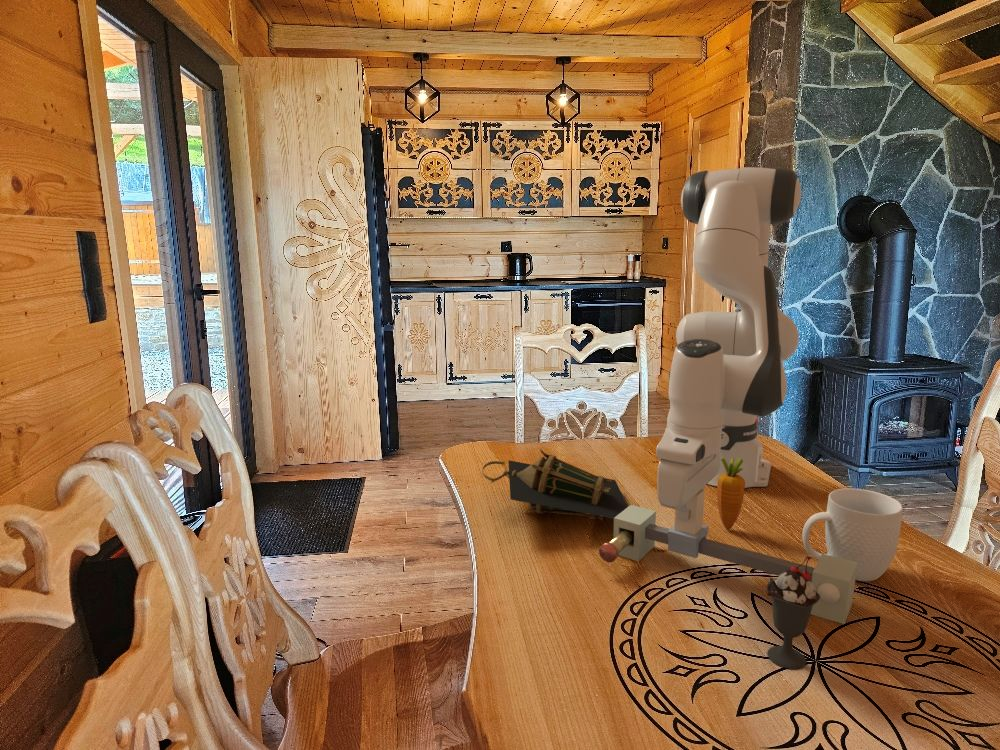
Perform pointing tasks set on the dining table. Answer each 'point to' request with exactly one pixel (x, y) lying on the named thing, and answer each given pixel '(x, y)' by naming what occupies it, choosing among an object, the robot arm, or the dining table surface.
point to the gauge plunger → (616, 545)
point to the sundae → (791, 613)
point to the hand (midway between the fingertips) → (688, 514)
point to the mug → (859, 530)
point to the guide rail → (750, 562)
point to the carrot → (730, 493)
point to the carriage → (689, 529)
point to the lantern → (562, 488)
